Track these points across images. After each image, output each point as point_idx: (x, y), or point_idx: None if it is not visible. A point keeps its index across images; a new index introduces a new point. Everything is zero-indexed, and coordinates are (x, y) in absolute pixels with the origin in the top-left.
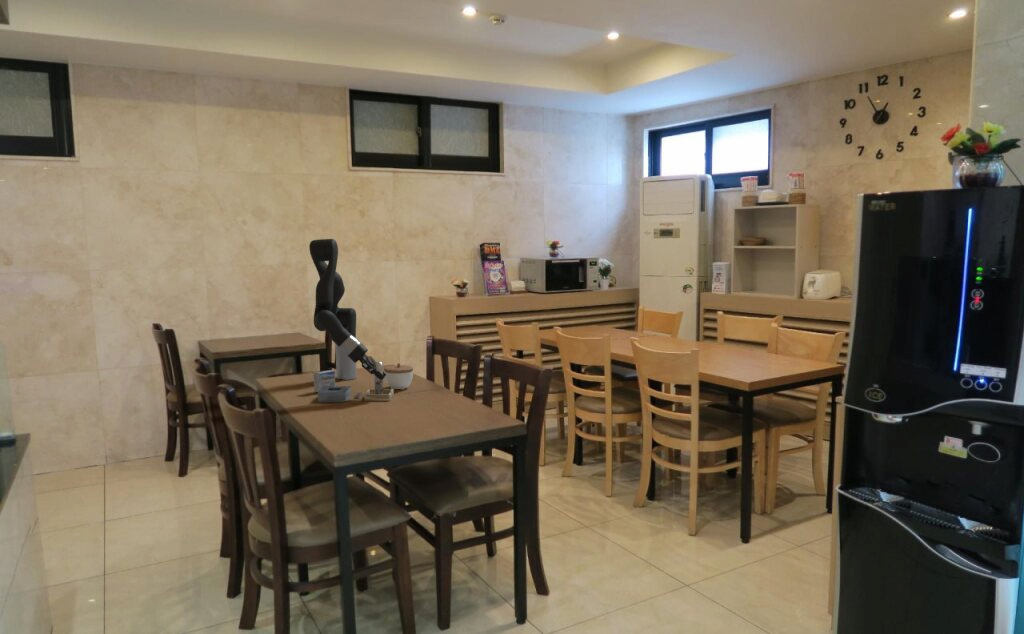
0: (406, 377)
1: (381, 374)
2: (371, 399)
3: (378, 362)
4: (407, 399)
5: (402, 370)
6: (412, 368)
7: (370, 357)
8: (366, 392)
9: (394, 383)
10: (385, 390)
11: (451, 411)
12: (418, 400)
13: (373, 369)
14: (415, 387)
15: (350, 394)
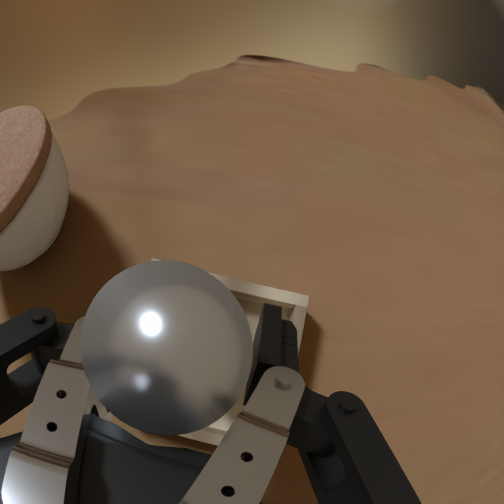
0: (62, 157)
1: (281, 330)
2: None
3: (165, 343)
4: (287, 218)
5: (42, 147)
6: (32, 106)
7: (31, 490)
8: (204, 439)
9: (51, 234)
10: None
11: (453, 141)
12: (316, 179)
13: (369, 429)
14: None
15: None
